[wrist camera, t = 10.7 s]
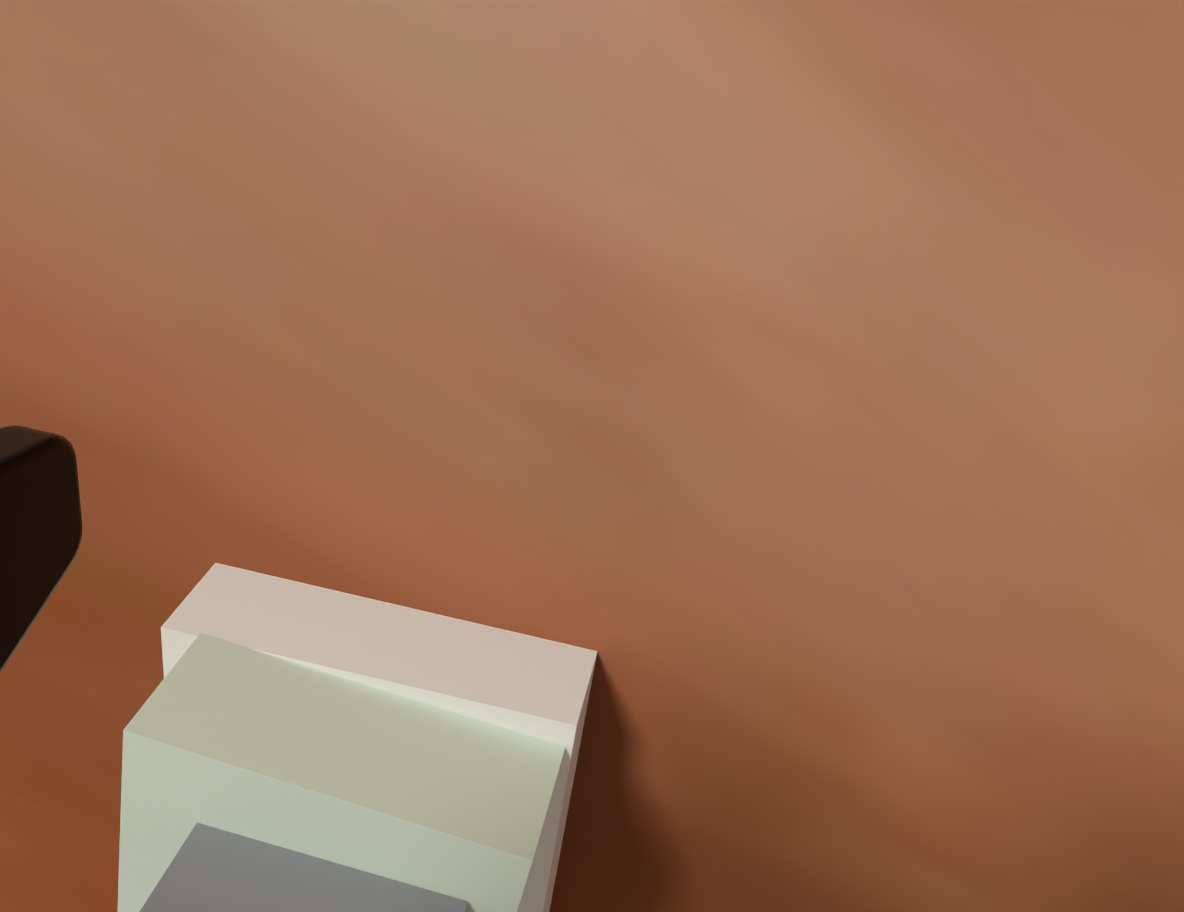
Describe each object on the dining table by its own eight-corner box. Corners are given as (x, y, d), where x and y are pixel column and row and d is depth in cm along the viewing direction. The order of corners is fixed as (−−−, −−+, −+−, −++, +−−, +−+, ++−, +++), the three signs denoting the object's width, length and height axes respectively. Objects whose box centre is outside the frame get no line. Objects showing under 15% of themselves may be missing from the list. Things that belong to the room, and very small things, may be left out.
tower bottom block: (601, 636, 26) (576, 725, 23) (552, 899, 30) (527, 998, 27) (225, 550, 26) (160, 627, 24) (232, 818, 31) (178, 908, 28)
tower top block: (565, 747, 23) (532, 860, 21) (492, 980, 27) (458, 1099, 25) (200, 632, 24) (123, 730, 21) (181, 879, 28) (115, 986, 25)
